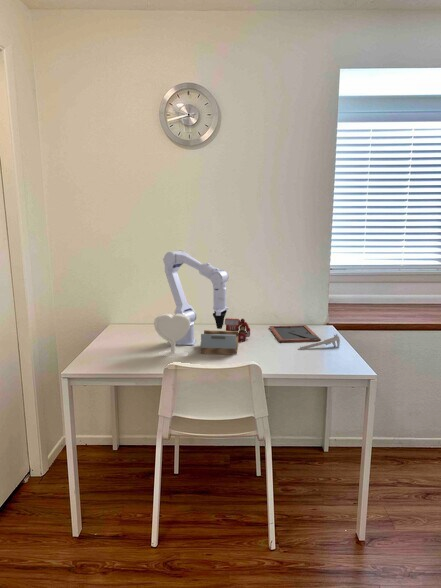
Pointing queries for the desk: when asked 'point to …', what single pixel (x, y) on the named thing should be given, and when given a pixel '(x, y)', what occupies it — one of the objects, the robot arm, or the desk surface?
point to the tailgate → (218, 341)
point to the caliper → (323, 342)
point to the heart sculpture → (172, 330)
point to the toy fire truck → (234, 326)
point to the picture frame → (294, 334)
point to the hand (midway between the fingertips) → (219, 327)
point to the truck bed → (221, 350)
